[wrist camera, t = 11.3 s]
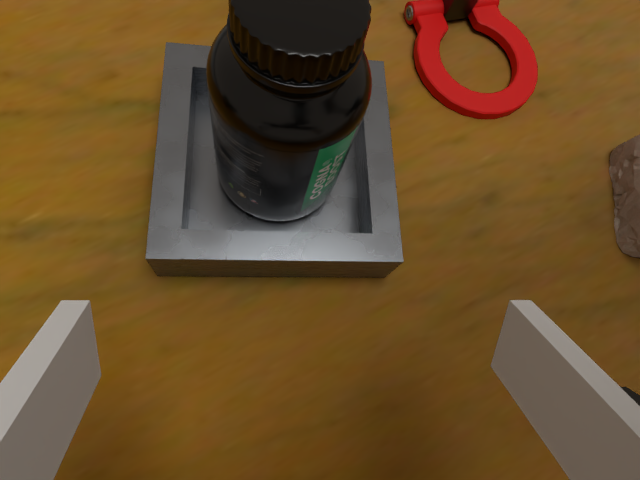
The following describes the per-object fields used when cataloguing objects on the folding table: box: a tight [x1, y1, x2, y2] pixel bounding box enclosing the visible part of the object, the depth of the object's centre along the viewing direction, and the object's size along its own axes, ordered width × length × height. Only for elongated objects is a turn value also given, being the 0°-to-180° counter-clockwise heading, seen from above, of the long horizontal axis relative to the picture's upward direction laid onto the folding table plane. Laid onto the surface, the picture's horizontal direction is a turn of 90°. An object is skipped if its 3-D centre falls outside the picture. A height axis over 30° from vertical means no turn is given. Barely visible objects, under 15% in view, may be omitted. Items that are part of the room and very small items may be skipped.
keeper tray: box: [146, 42, 403, 278], centre depth 25 cm, size 12×12×3 cm
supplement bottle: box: [206, 0, 372, 221], centre depth 21 cm, size 7×7×12 cm
